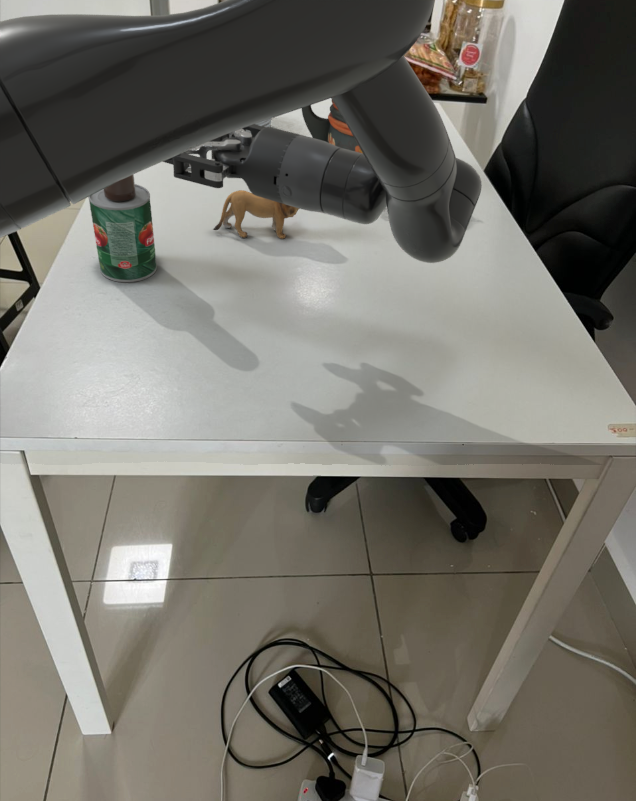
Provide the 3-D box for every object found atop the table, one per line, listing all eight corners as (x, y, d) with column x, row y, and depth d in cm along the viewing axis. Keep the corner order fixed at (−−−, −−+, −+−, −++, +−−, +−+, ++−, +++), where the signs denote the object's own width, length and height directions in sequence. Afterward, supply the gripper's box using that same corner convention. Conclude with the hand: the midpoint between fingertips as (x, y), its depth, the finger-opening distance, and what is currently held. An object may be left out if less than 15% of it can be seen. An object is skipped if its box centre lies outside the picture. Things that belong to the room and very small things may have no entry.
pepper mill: (110, 203, 83) (99, 123, 76) (100, 190, 85) (88, 112, 79) (140, 197, 85) (132, 119, 78) (129, 186, 87) (120, 108, 80)
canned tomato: (166, 273, 92) (160, 200, 85) (114, 288, 88) (103, 212, 81) (141, 249, 96) (133, 178, 89) (90, 262, 92) (78, 188, 85)
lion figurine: (300, 223, 107) (304, 170, 101) (307, 238, 103) (311, 184, 97) (211, 225, 104) (209, 171, 98) (214, 241, 100) (213, 185, 94)
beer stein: (299, 189, 117) (306, 70, 104) (296, 158, 128) (302, 47, 115) (401, 194, 119) (421, 78, 106) (390, 163, 130) (407, 54, 116)
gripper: (327, 119, 74) (207, 89, 78) (266, 156, 64) (133, 120, 68) (321, 182, 79) (209, 151, 83) (264, 226, 69) (140, 188, 73)
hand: (175, 137), depth 76 cm, fingers open, 8 cm apart
